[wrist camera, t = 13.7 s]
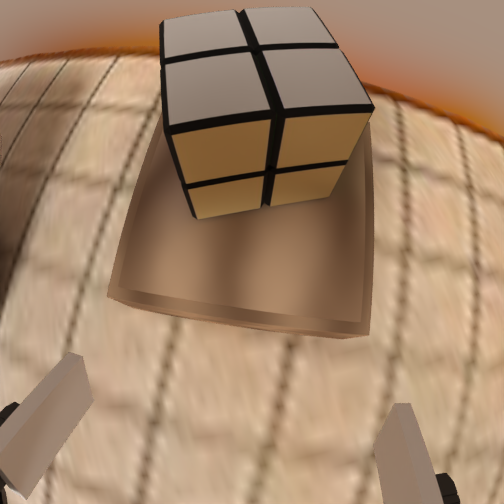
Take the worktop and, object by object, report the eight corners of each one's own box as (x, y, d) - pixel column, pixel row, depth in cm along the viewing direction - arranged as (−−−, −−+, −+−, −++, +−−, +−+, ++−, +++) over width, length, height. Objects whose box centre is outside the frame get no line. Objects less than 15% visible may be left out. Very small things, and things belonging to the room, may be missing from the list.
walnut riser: (351, 158, 31) (370, 120, 25) (343, 339, 26) (370, 335, 20) (178, 134, 32) (168, 93, 26) (133, 308, 26) (105, 295, 20)
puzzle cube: (179, 115, 25) (158, 18, 15) (295, 99, 26) (313, 4, 16) (193, 222, 22) (162, 133, 13) (331, 198, 23) (380, 108, 13)
